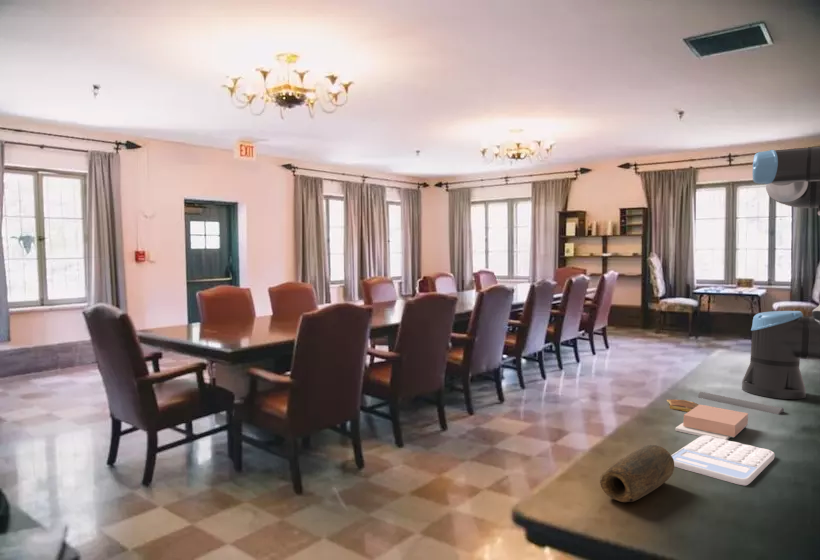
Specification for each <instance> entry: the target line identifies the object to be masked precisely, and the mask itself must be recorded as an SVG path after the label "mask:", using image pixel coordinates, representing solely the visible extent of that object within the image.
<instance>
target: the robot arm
mask: <svg viewBox="0 0 820 560" xmlns="http://www.w3.org/2000/svg"><path fill="white" fill-rule="evenodd" d="M752 181H753V183H755V184H760V185H761V184H765V189H766V192H767V194H768V196H769V197H770V199H772V200H773V201H775V202H776V203H779V204H782V205H785V206H788V207H793V208H800V209H801V208H802V209H817V215H818V216H819V217H820V146H814V147H805V148H803V147H802V148H791V149H778V150H777V149H776V150H775V149H770V150H766V151H765V150H764V151H759V152H756V153H755V154H754V156H753V161H752ZM751 324H752V325H751V329H750V331H751V341H750V342H751V343H750V344H751V346H750V357H749V358H750V361H749V365H748V368H747V370H746V371H745V374H744V376H743V378H742V381H741V390H743V391H744V392H747V393H749V394H752V395H757V396H761V397H766V398H774V399H784V400H800V399H805V398H806V397H807V396H806V395H807V393H806V392H807V389H806V385H805V382H804V379H803V375H802V373H801V369H800V363H801V362H800V361H801V360H810V361H818V362H819V361H820V303H819V305H818V306H817V307H815V308H814V309H812V311H811V316H804V314H803V312H802V311H800V310H774V311H764V312H763V311H762V312H758V313H756V314H755V315H754V316H753V319H752V323H751Z"/></svg>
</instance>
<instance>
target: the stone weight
mask: <svg viewBox="0 0 820 560" xmlns="http://www.w3.org/2000/svg"><path fill="white" fill-rule="evenodd" d="M671 455H672V454H670V452H669V451H668V450H667V449H665V448H664V447H663V446H661V445H657V444H649V445H644V446H643V447H641V448H638V449H637V450H635V451H634V452H631V453H629V454H627V455H626V456H623V458H621V459H619V460H617V461H616V462H615V463H613V464H612V465H611V466H609V467H608V468H606V469H604V471H603V472H602V473H601V475H600V478H599V483H600V487H601V489H602V490H603V492H604V493H605V495H606V496H607V497H609V498H610V499H613V500H615V501H617V502H621V503H632V502H635V501H637V500H640V499H641V498H644V497H645V496H647V495H648V494H651V493H652V492H653V491H655V490H656V489H658V488H660V487H661V486H662V485H663V484H664V483H666V482H667V481H668V480H669V479H670V478H671V477H672V476H673V474H674V471H675V467H674V460H673V458H672V456H671Z"/></svg>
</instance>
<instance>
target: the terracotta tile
mask: <svg viewBox="0 0 820 560" xmlns="http://www.w3.org/2000/svg"><path fill="white" fill-rule="evenodd" d="M748 421H749V413H748V412H744V411H737V410H732V409H726V408H720V407H716V406H715V407H714V406H712V405H711V406H710V405H705V404H698V406H697V407H695V408H694V409H692V410H691V411H689V412H685V413H684V414H683V422H682V423H683V426H685V427H687V428H692V429H696V430H701V431H705V432H710V433H715V434H719V435H724V436H729V437H730V438H735V437H736V436H738V434H739V433H741V432H742V430H743V429H745V427H746V426H747V425H748V423H749V422H748Z"/></svg>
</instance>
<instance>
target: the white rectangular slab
mask: <svg viewBox="0 0 820 560" xmlns="http://www.w3.org/2000/svg"><path fill="white" fill-rule="evenodd" d="M674 429H675V430H674V431H676V432H680V433H684V434H689V435H692V436H698V437H700V436H704V435H708V436H712V437H715V438H721V439H725V440H728V441H729V439H730V438H731V437H729V436H724V435H719V434H715V433H710V432H705V431H701V430H696V429H692V428H687V427H685V426H683V422H682V423H680V424H679V425H677V426H676V427H675V428H674Z"/></svg>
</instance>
